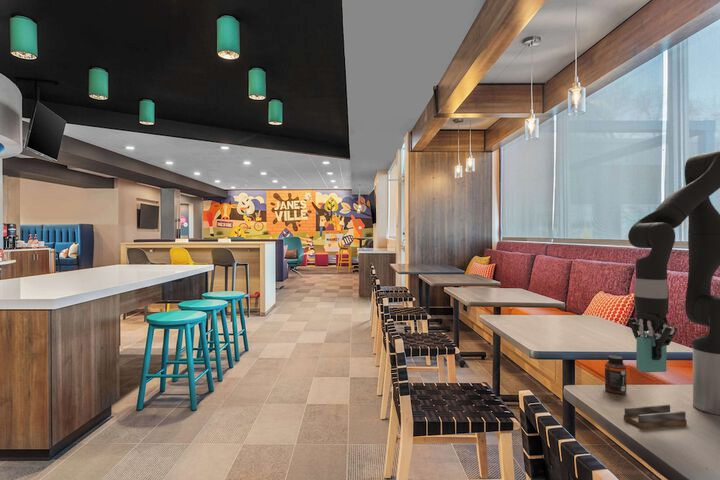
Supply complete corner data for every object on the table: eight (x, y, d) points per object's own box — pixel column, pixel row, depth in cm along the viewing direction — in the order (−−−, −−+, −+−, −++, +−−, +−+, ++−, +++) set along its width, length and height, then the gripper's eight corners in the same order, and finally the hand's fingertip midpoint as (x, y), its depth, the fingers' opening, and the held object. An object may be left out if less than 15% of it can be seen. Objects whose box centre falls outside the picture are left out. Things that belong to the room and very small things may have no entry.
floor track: (667, 415, 112) (667, 404, 112) (686, 424, 106) (686, 412, 106) (623, 419, 109) (623, 407, 109) (641, 428, 104) (641, 416, 104)
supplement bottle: (630, 395, 126) (629, 360, 126) (609, 394, 127) (609, 358, 127) (621, 388, 132) (621, 354, 132) (602, 387, 133) (601, 353, 133)
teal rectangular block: (658, 368, 110) (658, 336, 110) (666, 371, 108) (666, 338, 108) (636, 369, 109) (636, 337, 109) (643, 372, 107) (644, 339, 107)
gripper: (687, 298, 102) (687, 365, 102) (641, 291, 116) (642, 350, 116) (661, 299, 101) (662, 366, 101) (619, 292, 115) (619, 352, 115)
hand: (651, 358), depth 109 cm, fingers closed on teal rectangular block, 2 cm apart
